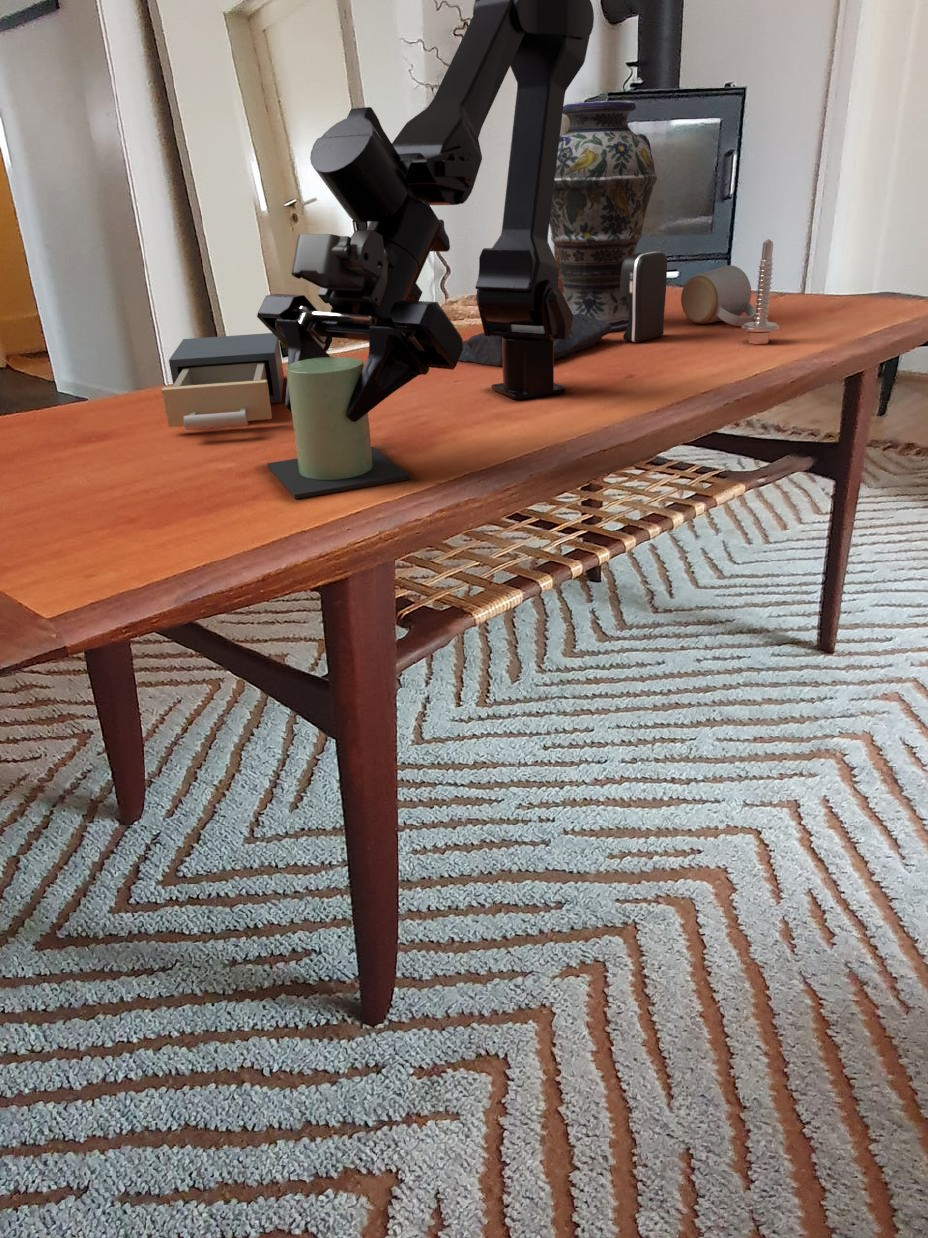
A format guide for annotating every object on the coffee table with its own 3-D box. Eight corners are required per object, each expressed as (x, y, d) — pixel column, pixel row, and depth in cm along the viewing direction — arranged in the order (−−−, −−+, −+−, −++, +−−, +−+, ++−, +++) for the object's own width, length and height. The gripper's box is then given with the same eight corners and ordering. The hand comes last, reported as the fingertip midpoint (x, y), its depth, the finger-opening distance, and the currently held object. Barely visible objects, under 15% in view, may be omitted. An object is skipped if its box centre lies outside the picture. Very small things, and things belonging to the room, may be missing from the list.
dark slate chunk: (630, 343, 130) (631, 307, 127) (526, 371, 116) (525, 331, 114) (545, 333, 139) (545, 299, 137) (440, 358, 126) (438, 321, 123)
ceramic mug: (675, 322, 143) (678, 268, 139) (709, 315, 147) (714, 263, 143) (732, 330, 135) (737, 274, 132) (766, 323, 140) (773, 268, 136)
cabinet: (281, 402, 107) (274, 352, 104) (177, 410, 105) (168, 359, 103) (284, 377, 119) (278, 332, 116) (190, 384, 117) (183, 338, 115)
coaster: (410, 479, 79) (409, 474, 79) (295, 499, 76) (294, 494, 76) (372, 450, 88) (372, 446, 87) (267, 467, 84) (267, 463, 84)
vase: (519, 324, 147) (515, 108, 134) (616, 313, 153) (622, 104, 139) (566, 340, 133) (567, 100, 120) (671, 328, 139) (683, 96, 125)
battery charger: (642, 333, 136) (645, 249, 131) (665, 335, 133) (669, 250, 128) (614, 341, 131) (617, 254, 126) (637, 343, 129) (640, 255, 124)
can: (383, 459, 83) (374, 356, 79) (355, 482, 78) (344, 373, 74) (318, 456, 85) (306, 355, 81) (286, 478, 80) (272, 371, 76)
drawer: (270, 428, 93) (265, 390, 91) (163, 437, 92) (155, 398, 90) (275, 392, 107) (270, 358, 106) (183, 399, 106) (177, 365, 105)
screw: (738, 345, 125) (742, 338, 129) (776, 346, 123) (778, 339, 127) (747, 240, 119) (750, 237, 123) (787, 240, 117) (789, 236, 121)
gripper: (256, 194, 80) (179, 350, 76) (435, 190, 70) (355, 368, 67) (327, 280, 89) (261, 422, 86) (494, 286, 79) (425, 447, 76)
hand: (319, 414), depth 78 cm, fingers closed on can, 6 cm apart
